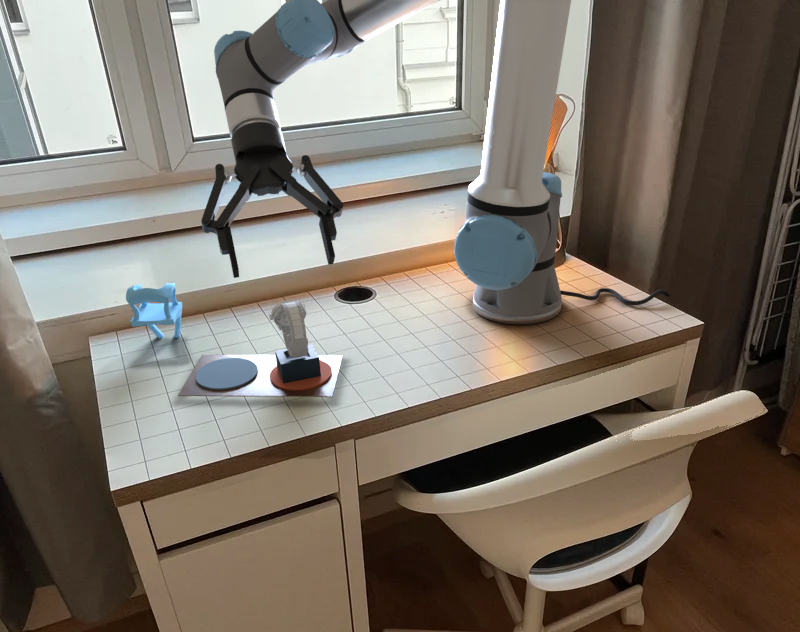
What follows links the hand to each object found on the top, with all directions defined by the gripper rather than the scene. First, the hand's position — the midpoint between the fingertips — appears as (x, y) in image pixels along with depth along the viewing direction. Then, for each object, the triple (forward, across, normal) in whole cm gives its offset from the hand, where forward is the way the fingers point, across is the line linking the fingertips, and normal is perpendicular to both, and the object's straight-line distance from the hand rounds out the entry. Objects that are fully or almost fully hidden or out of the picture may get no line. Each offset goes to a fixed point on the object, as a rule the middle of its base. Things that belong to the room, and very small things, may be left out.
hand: (284, 267), depth 100 cm
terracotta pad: (+14, 0, -6) cm, 16 cm away
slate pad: (+11, +10, -9) cm, 18 cm away
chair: (+3, +19, -19) cm, 27 cm away
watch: (+14, 0, -7) cm, 15 cm away
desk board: (+14, +5, -9) cm, 17 cm away
